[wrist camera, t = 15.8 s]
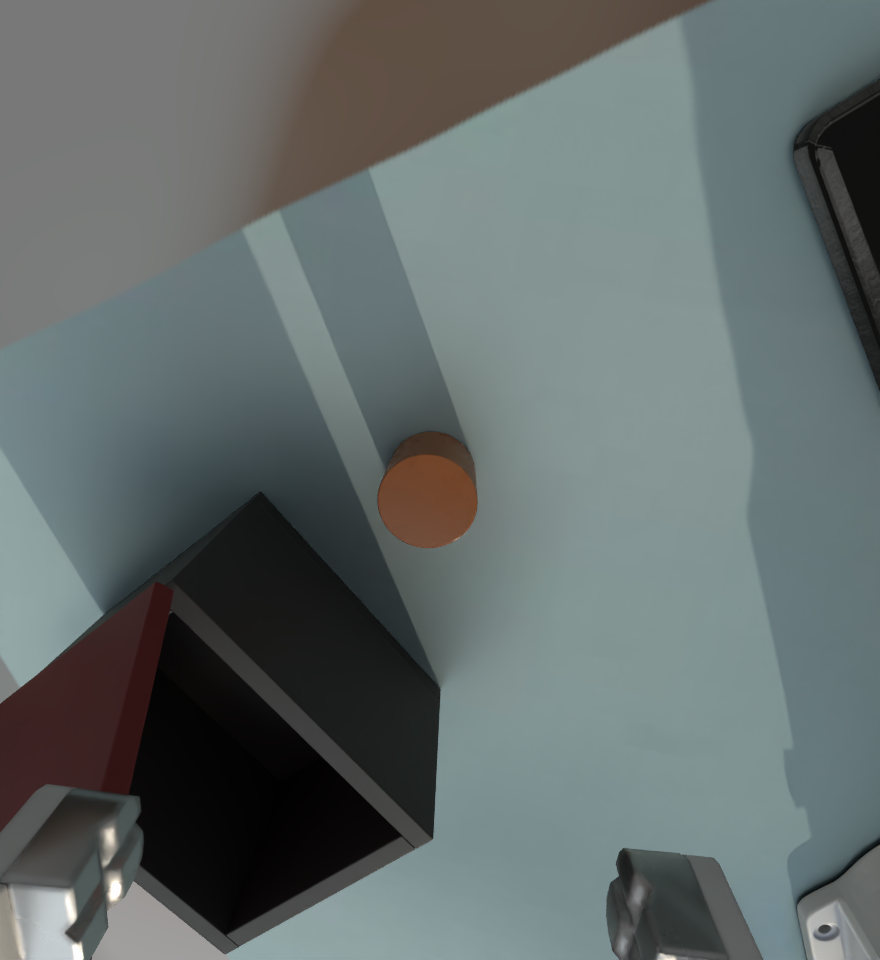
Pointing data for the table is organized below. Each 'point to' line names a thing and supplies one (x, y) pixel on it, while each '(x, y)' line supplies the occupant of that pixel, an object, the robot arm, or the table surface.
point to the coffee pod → (429, 490)
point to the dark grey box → (275, 735)
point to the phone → (849, 203)
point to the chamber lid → (85, 708)
